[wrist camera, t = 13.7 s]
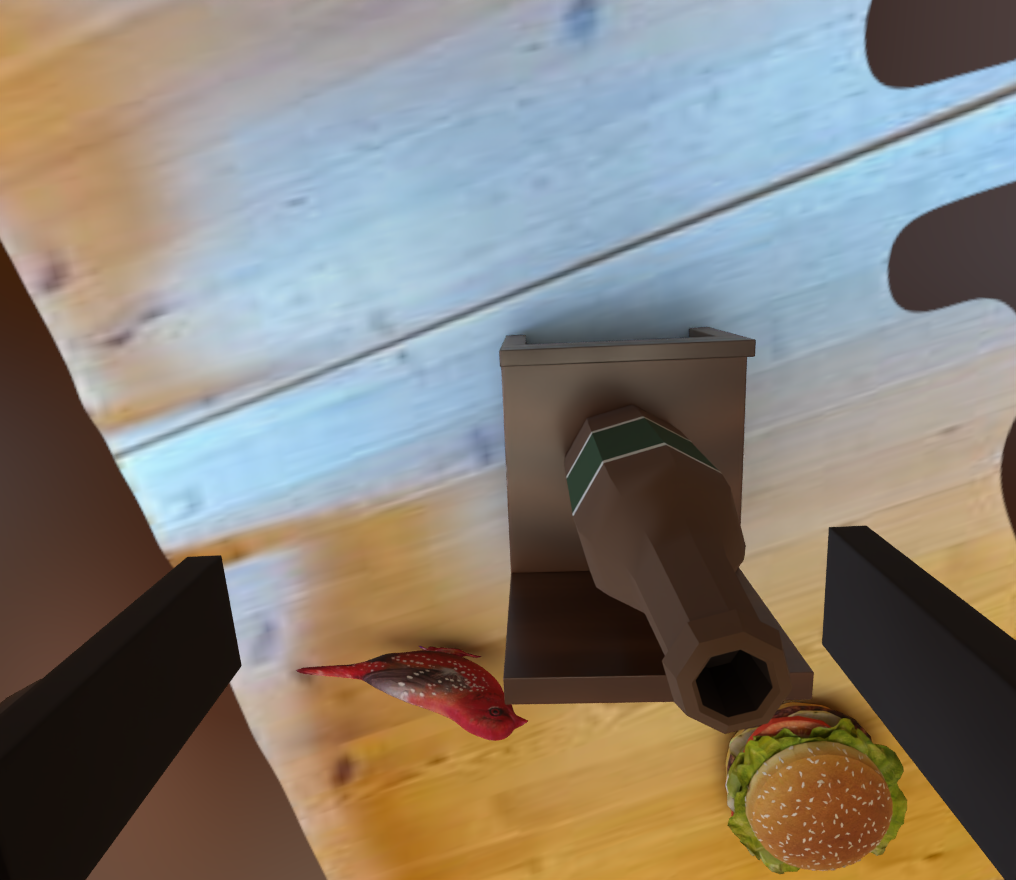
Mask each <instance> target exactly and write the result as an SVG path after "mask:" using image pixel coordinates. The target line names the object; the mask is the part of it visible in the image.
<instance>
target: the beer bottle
mask: <svg viewBox="0 0 1016 880" xmlns="http://www.w3.org/2000/svg"><path fill="white" fill-rule="evenodd" d="M564 467H565V473H566V479H567V485H568V490H569V496H570V502H571V508H572V514H573V518H574V522H575V525H576V528H577V531H578V534H579V537H580V541H581V544H582V547H583V550H584V553H585V556H586V560H587V563H588V566H589V569H590V572H591V575H592V577H593V580H594V583H595V585H596V587H597V588H598V589H600V590H601V591H603V592H604V593H606V594H607V595H609V596H611V597H613V598H615V599H617V600H619V601H621V602H623V603H625V604H627V605H629V606H631V607H633V608H635V609H637V610H639V611H641V612H643V613H645V615H646V617H647V619H648V621H649V623H650V625H651V627H652V629H653V632H654V634H655V636H656V638H657V640H658V642H659V644H660V646H661V649H662V651H663V653H664V655H665V657H664V658H663V660H662V663H663V666H664V670H665V673H666V676H667V680H668V683H669V686H670V690H671V693H672V696H673V700H674V702H675V703H676V704H677V706H678V707H679V708H680V709H681V710H682V711H683V712H684V713H685V714H686V715H687V716H689V717H691V718H693V719H695V720H697V721H699V722H701V723H703V724H705V725H707V726H709V727H712V728H714V729H716V730H718V731H720V732H722V733H724V734H727V733H731V732H735V731H739V730H743V729H747V728H751V727H755V726H759V725H763V724H767V723H769V721H770V720H771V718H772V717H773V716H774V714H775V713H776V711H777V710H778V709H779V707H780V706H781V704H782V703H783V702H784V700H785V699H786V697H787V696H788V695H789V693H790V692H791V690H792V685H791V678H790V673H789V669H788V665H787V661H786V657H785V653H784V649H783V645H782V641H781V637H780V633H779V630H777V629H775V628H773V627H771V626H769V625H767V624H765V623H763V622H761V621H760V619H759V618H758V616H757V614H756V612H755V610H754V608H753V606H752V604H751V602H750V600H749V598H748V597H747V595H746V593H745V591H744V589H743V587H742V585H741V583H740V581H739V579H738V578H737V576H736V574H735V572H736V571H737V569H738V567H739V566H740V564H741V563H742V561H743V560H744V555H745V547H746V545H745V542H744V538H743V534H742V530H741V526H740V522H739V518H738V514H737V510H736V507H735V503H734V499H733V495H732V491H731V487H730V486H729V484H728V483H727V481H726V479H725V478H724V476H723V475H722V473H721V472H720V471H719V470H718V469H717V468H716V467H715V466H714V465H713V464H712V463H711V462H710V461H709V460H708V459H707V458H706V457H705V456H704V455H703V454H702V453H701V452H700V451H699V450H698V449H697V447H696V446H695V445H694V444H693V443H692V442H691V441H690V440H689V439H688V438H687V437H686V436H685V435H684V434H683V433H682V432H681V431H680V430H678V429H677V428H676V427H674V426H673V425H671V424H669V423H667V422H665V421H663V420H661V419H659V418H657V417H655V416H653V415H651V414H650V413H648V412H646V411H644V410H642V409H640V408H638V407H636V406H634V405H629V406H626V407H622V408H619V409H616V410H612V411H609V412H606V413H603V414H599V415H596V416H593V417H589V418H587V419H586V421H585V423H584V424H583V426H582V428H581V430H580V431H579V433H578V435H577V437H576V439H575V440H574V442H573V444H572V446H571V448H570V449H569V451H568V453H567V455H566V457H565V462H564Z"/></svg>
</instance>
